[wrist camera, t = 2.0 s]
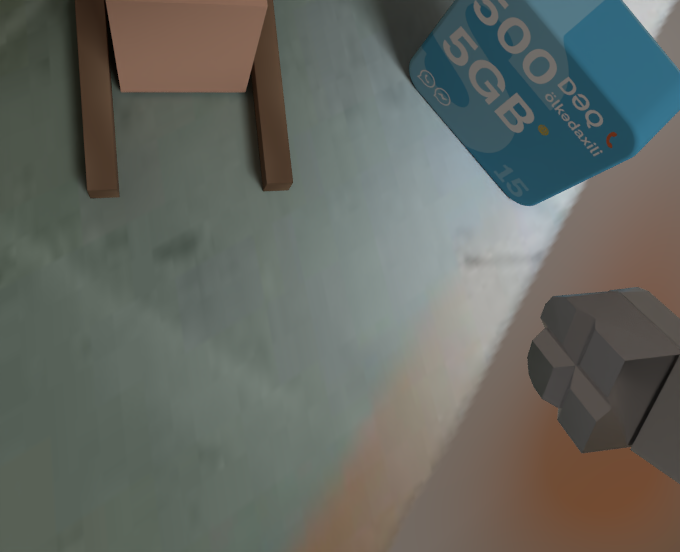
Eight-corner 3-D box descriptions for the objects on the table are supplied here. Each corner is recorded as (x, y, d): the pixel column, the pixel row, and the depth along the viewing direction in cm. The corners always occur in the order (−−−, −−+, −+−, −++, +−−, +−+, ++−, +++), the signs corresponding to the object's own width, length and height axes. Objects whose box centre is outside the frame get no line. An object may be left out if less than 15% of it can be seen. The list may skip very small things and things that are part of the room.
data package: (400, 72, 41) (489, -49, 30) (446, 35, 42) (548, -94, 31) (519, 213, 42) (652, 149, 30) (561, 172, 43) (704, 96, 31)
